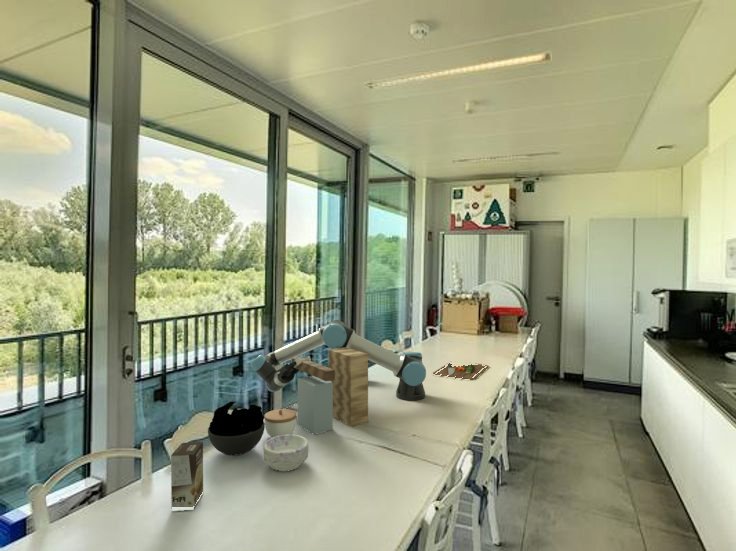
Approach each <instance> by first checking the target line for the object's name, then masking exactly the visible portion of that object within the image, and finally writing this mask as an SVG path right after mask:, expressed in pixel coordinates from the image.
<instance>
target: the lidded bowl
mask: <svg viewBox="0 0 736 551" xmlns="http://www.w3.org/2000/svg"><path fill="white" fill-rule="evenodd" d="M263 416H264V423H265V428H264V429H265V431H266V433H267V434H268V436H269V437H270V438H273V437H276V436H280V435H288V434H291V435H293V433H294V431H295V428H296V424H297V412H296V411H295V410H294V409H293V410H292V409H288V408H278V409H273V410H270V411H268V412H266V413H264V415H263Z"/></svg>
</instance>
